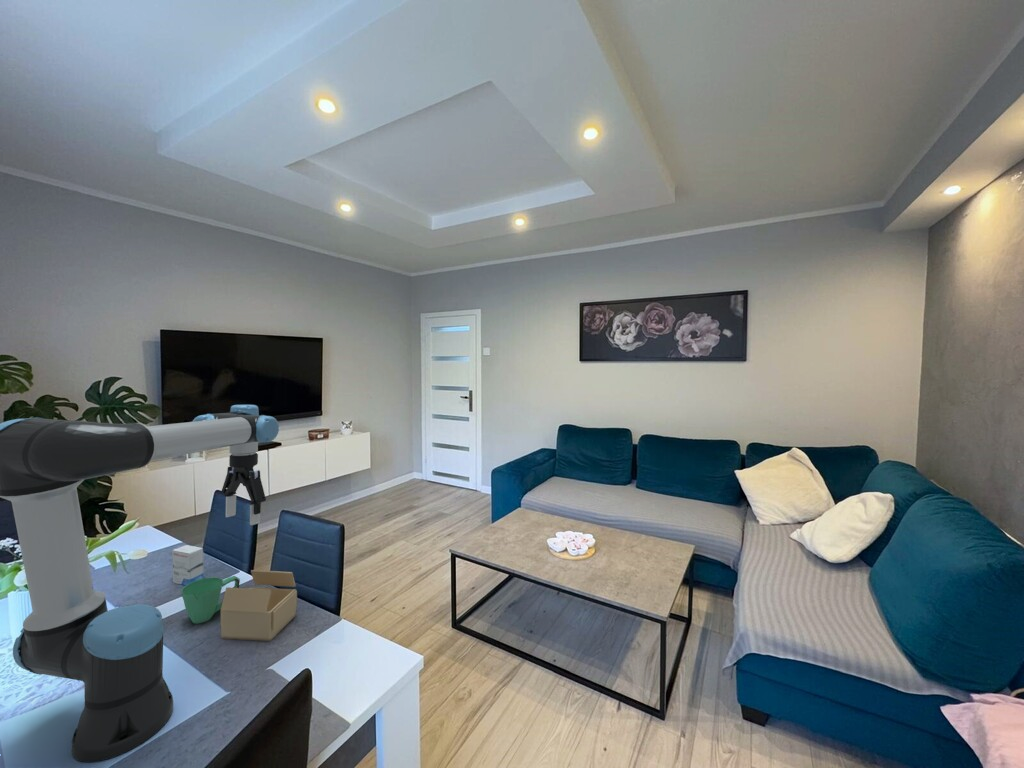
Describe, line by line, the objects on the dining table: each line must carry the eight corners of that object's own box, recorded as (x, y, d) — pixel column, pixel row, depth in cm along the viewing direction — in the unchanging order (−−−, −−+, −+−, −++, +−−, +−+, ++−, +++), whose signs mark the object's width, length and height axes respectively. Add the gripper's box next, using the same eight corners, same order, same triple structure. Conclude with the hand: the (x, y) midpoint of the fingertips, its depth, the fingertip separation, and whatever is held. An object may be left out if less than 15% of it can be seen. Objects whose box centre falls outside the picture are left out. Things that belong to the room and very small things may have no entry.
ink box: (204, 580, 141) (204, 547, 141) (189, 587, 136) (189, 553, 136) (186, 576, 144) (187, 543, 143) (171, 583, 139) (171, 549, 139)
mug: (188, 633, 113) (188, 598, 113) (176, 620, 119) (176, 587, 118) (246, 608, 125) (246, 577, 125) (232, 598, 131) (232, 568, 130)
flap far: (295, 586, 123) (291, 573, 121) (254, 584, 124) (250, 571, 122) (295, 585, 123) (292, 572, 121) (255, 583, 124) (251, 569, 122)
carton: (272, 641, 110) (272, 613, 110) (218, 638, 111) (218, 609, 111) (297, 615, 122) (298, 589, 122) (249, 612, 123) (249, 586, 123)
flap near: (221, 609, 110) (227, 587, 112) (266, 612, 110) (271, 589, 112) (220, 609, 110) (226, 587, 112) (265, 612, 109) (270, 590, 111)
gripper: (279, 456, 125) (277, 523, 125) (234, 447, 136) (233, 509, 137) (254, 459, 118) (252, 531, 118) (209, 450, 130) (208, 516, 130)
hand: (242, 520), depth 127 cm, fingers open, 13 cm apart
